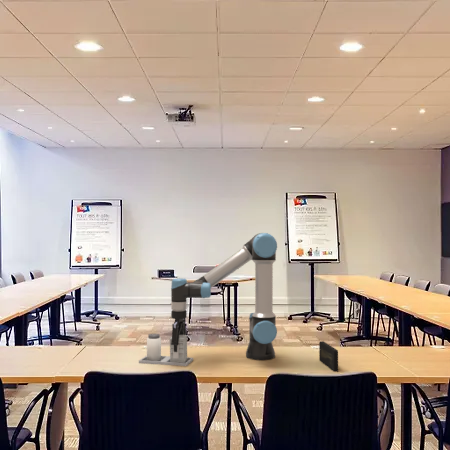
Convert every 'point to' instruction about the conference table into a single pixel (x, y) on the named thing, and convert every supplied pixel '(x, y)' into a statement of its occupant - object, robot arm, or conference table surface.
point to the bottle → (154, 347)
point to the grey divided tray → (165, 361)
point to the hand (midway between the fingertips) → (178, 355)
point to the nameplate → (328, 355)
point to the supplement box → (180, 350)
